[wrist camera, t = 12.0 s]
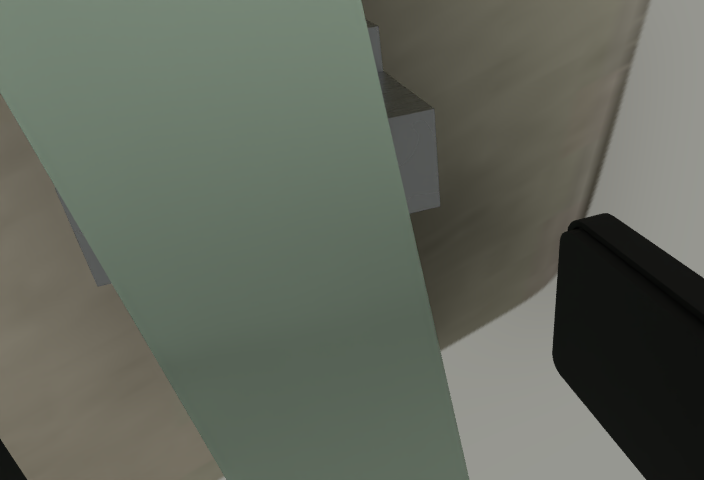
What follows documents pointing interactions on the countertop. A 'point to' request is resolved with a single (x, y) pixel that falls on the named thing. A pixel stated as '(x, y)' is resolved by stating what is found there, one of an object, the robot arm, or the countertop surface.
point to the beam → (246, 222)
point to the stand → (408, 138)
